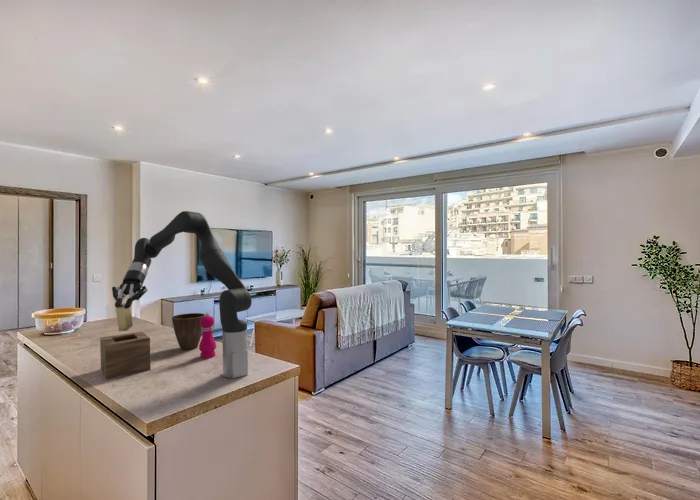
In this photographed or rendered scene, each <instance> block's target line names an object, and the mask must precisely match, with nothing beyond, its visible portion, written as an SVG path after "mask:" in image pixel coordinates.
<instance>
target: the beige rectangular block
mask: <svg viewBox="0 0 700 500" xmlns="http://www.w3.org/2000/svg"><path fill="white" fill-rule="evenodd" d="M125 304H126V302H124V303H123V302H122V304H121V305H119V306H118V307H115V314H116V319H117V327H118V328H117V329H118V332H127V331H128V330H129V329H130V328H132V327H133V318H132V309H131V306H130V307H129V308H128V309H126V307H125Z"/></svg>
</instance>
